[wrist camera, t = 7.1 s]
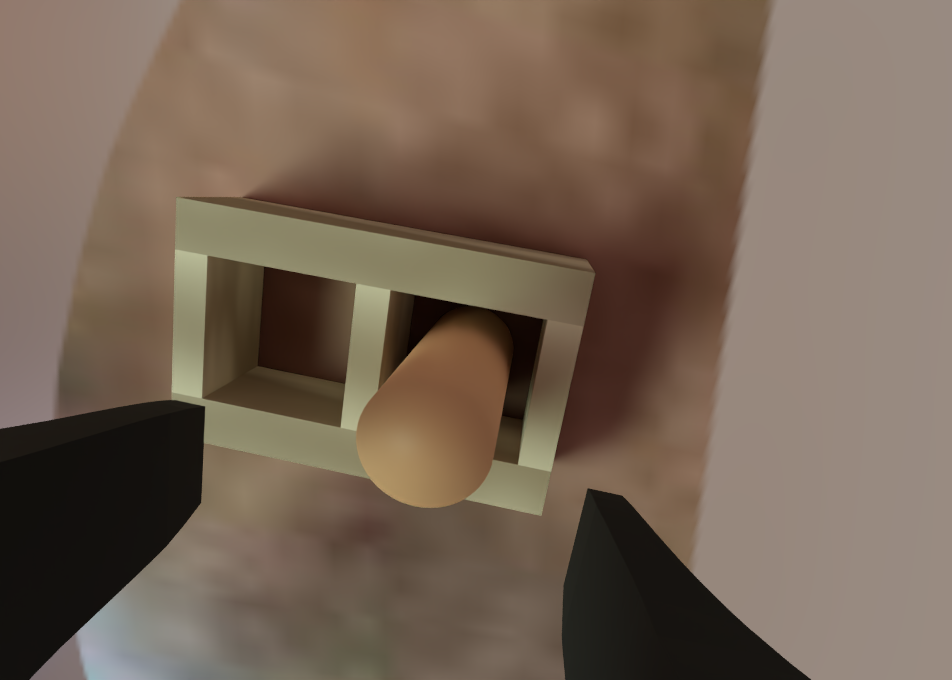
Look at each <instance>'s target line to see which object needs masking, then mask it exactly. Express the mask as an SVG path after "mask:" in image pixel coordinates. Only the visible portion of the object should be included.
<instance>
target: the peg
mask: <svg viewBox="0 0 952 680" xmlns="http://www.w3.org/2000/svg"><path fill="white" fill-rule="evenodd" d="M513 350H514V349H513V340H512V336H511V333H510V331H509V329H508V327H507V326H506V324H505V323H504V322H503V321H502V320H501V319H500V318H499V317H498V316H497V315H496V314H494V313H493V312H491V311H489V310H487V309H484V308H481V307H476V306H464V307H459V308H456V309H453V310H451V311H449V312H447V313H446V314H444V315H443V316H442V317H441V318H440V319H439V320H438V321H437V322H436V323H435V325H434V326H433V327H432V328H431V329H430V330H429V332H428V333H427V334H426V335H425V336H424V337H423V339H422V340H421V341H420V342H419V343H418V344H417V346H416V347H415V348H414V349H413V350H412V351H411V353H410V354H409V355H408V356H407V357H406V358H405V360H404V361H403V362H402V363H401V364H400V365H399V367H398V368H397V369H396V370H395V371H394V372H393V374H392V375H391V376H390V377H389V378H388V379H387V381H386V382H385V383H384V384H383V385H382V386H381V388H380V389H379V390H378V391H377V392H376V393H375V395H374V396H373V397H372V398H371V399H370V400H369V402H368V403H367V405H366V406H365V408H364V409H363V411H362V413H361V415H360V418H359V421H358V425H357V431H356V445H357V451H358V455H359V459H360V461H361V464H362V466H363V468H364V470H365V471H366V473H367V475H368V476H369V477H370V479H371V480H372V481H373V482H374V483H375V484H376V485H377V487H379V488H380V489H381V490H382V491H383V492H384V493H386V494H387V495H389V496H390V497H392V498H394V499H396V500H398V501H400V502H403V503H405V504H408V505H412V506H416V507H423V508H438V507H444V506H449V505H452V504H455V503H457V502H460V501H462V500H463V499H465V498H467V497H468V496H470V495H471V494H472V493H474V492H475V491H476V490H477V489H478V488H479V487H480V486H481V484H482V483H483V482H484V480H485V479H486V477H487V475H488V473H489V471H490V468H491V466H492V462H493V457H494V452H495V447H496V442H497V437H498V431H499V426H500V421H501V416H502V410H503V405H504V400H505V395H506V389H507V384H508V379H509V374H510V368H511V363H512V358H513Z"/></svg>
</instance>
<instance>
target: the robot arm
mask: <svg viewBox="0 0 952 680" xmlns="http://www.w3.org/2000/svg"><path fill="white" fill-rule="evenodd" d="M204 427H205V406H201V405H196V404H192V403H187V402H182V401H178V400H166V401H155V402H147V403H141V404H134V405H129V406H123V407H117V408H112V409H107V410H101V411H96V412H91V413H86V414H81V415H75V416H70V417H65V418H60V419H55V420H49V421H44V422H38V423H32V424H27V425H21V426H15V427H9V428H3V429H0V680H29V679H30V678H31V677H32V676H33V675H34V674H35V673H36V672H37V671H38V670H39V669H40V668H41V667H42V666H43V665H44V664H45V663H46V662H47V661H48V660H49V659H50V658H51V657H52V656H53V654H54V653H56V651H57V650H58V649H59V648H60V647H61V646H62V645H64V644H65V643H66V642H67V641H68V640H69V639H70V638H71V637H72V636H73V635H74V634H75V633H76V632H77V631H78V630H79V629H81V628H82V627H83V626H84V625H85V624H86V623H87V622H88V621H89V620H90V619H91V618H92V617H93V616H94V615H95V614H96V613H97V612H98V611H100V610H101V609H102V608H103V607H104V606H105V605H106V604H107V603H108V602H109V601H110V600H111V599H112V598H113V597H114V596H115V595H116V594H117V593H119V592H120V591H121V590H122V589H123V588H124V587H125V586H126V585H127V584H128V583H129V582H130V581H131V580H132V579H133V578H134V577H135V576H136V575H137V574H138V573H140V572H141V571H142V570H143V569H144V568H145V567H146V566H147V565H148V564H149V563H150V562H151V561H152V560H153V559H154V558H155V557H156V556H157V555H158V554H159V553H160V552H161V551H162V550H163V549H164V548H165V547H166V546H167V545H168V544H169V542H170V541H171V540H172V539H173V538H174V536H175V535H176V534H177V533H178V532H179V530H180V529H181V528H182V527H183V526H184V524H185V523H186V522H187V520H188V519H189V518H190V516H191V515H192V514H193V513H194V511H195V510H196V509H197V507H198V506H199V505H200V503H201V493H202V471H203V449H204ZM562 646H563V658H564V669H565V680H811V679H810V678H808V677H807V676H806V675H805V674H803V673H802V672H801V671H799V670H798V669H797V668H796V667H794V666H793V665H792V664H790V663H789V662H788V661H787V660H786V659H784V658H783V657H782V656H781V655H780V654H779V653H777V652H776V651H775V650H774V649H773V648H771V647H770V646H769V645H768V644H767V643H766V642H764V641H763V640H762V639H761V638H760V637H759V636H757V635H756V634H755V633H754V632H753V631H751V630H750V629H749V628H748V627H747V626H746V625H745V624H743V623H742V622H741V621H740V620H739V619H738V618H737V617H736V616H735V615H734V614H733V613H731V612H730V611H729V610H728V609H727V608H726V607H725V606H724V605H723V604H722V603H721V602H720V601H719V600H718V599H717V598H716V597H715V596H714V595H713V594H712V593H711V592H710V591H709V590H708V589H707V588H706V587H705V586H704V585H703V584H702V583H701V582H700V581H699V580H698V579H697V578H696V577H695V576H694V575H693V574H692V573H691V572H690V571H689V569H688V568H687V567H686V566H685V565H684V564H683V563H682V562H681V561H680V560H679V559H678V558H677V556H676V555H675V554H674V553H673V552H672V551H671V550H670V549H669V548H668V547H667V545H666V544H665V543H664V542H663V541H662V540H661V539H660V537H659V536H658V535H657V534H656V533H655V532H654V531H653V529H652V528H651V527H650V526H649V525H648V524H647V522H646V521H645V520H644V519H643V518H642V517H641V515H640V514H639V513H638V512H637V511H636V510H635V509H634V507H633V506H632V505H631V504H630V503H629V502H628V501H627V500H626V499H625V498H624V497H623V496H621V495H616V494H612V493H607V492H602V491H598V490H593V489H588V490H587V494H586V498H585V502H584V506H583V510H582V514H581V518H580V522H579V526H578V530H577V534H576V538H575V542H574V546H573V550H572V554H571V558H570V562H569V566H568V570H567V574H566V578H565V582H564V590H563V617H562Z"/></svg>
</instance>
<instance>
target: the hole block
mask: <svg viewBox="0 0 952 680" xmlns="http://www.w3.org/2000/svg"><path fill="white" fill-rule="evenodd" d="M264 266H266V267H271V268H276V269H282V270H287V271H292V272H297V273H303V274H308V275H313V276H319V277H324V278H329V279H334V280H340V281H345V282H350V283H356V293H355V302H354V311H353V320H352V329H351V338H350V347H349V356H348V365H347V374H346V383H345V384H343V383H338V382H333V381H328V380H323V379H318V378H314V377H309V376H304V375H299V374H294V373H289V372H284V371H279V370H274V369H269V368H264V367H259V366H258V354H259V339H260V324H261V308H262V293H263V278H264ZM594 278H595V272H594V270H593V268H592V267H591V265H590V264H589V262H588V261H587V259H582V258H576V257H571V256H565V255H559V254H554V253H548V252H543V251H537V250H532V249H526V248H520V247H515V246H509V245H504V244H498V243H493V242H487V241H482V240H476V239H470V238H465V237H459V236H454V235H448V234H443V233H437V232H431V231H426V230H420V229H415V228H409V227H404V226H398V225H393V224H387V223H381V222H376V221H370V220H365V219H359V218H354V217H348V216H342V215H337V214H331V213H326V212H320V211H315V210H309V209H304V208H298V207H292V206H287V205H281V204H276V203H270V202H265V201H259V200H254V199H248V198H242V197H176V235H175V278H174V320H173V363H172V400H178V401H182V402H187V403H192V404H196V405H201V406H205V427H204V443H207V444H212V445H216V446H221V447H225V448H230V449H235V450H239V451H244V452H249V453H253V454H258V455H262V456H267V457H272V458H276V459H281V460H286V461H290V462H295V463H299V464H304V465H309V466H313V467H318V468H323V469H327V470H332V471H336V472H341V473H346V474H350V475H355V476H360V477H364V478H369V479H370V477H369V476H368V475H367V473H366V471H365V470H364V468H363V466H362V464H361V461H360V459H359V455H358V451H357V445H356V431H357V425H358V421H359V418H360V415H361V413H362V411H363V409H364V408H365V406H366V405H367V403H368V402H369V400H370V399H371V398H372V397H373V396H374V395H375V393H376V392H377V391H378V390H379V389H380V388H381V386H382V385H383V384H384V383H385V382H386V381H387V379H388V378H389V377H390V376H391V375H392V374H393V372H394V371H395V370H396V369H397V368H398V367H399V365H400V364H401V363H402V362H403V361H404V360H405V358H406V356H407V349H408V342H409V335H410V327H411V320H412V313H413V306H414V299H415V295H419V296H424V297H430V298H435V299H440V300H445V301H451V302H456V303H461V304H467V305H472V306H477V307H482V308H488V309H493V310H498V311H504V312H509V313H514V314H520V315H525V316H530V317H535V318H541V319H543V323H542V328H541V333H540V338H539V343H538V348H537V353H536V358H535V363H534V367H533V372H532V377H531V382H530V387H529V392H528V397H527V402H526V407H525V412H524V417H523V420H520V419H515V418H510V417H505V416H501V421H500V426H499V431H498V437H497V442H496V447H495V452H494V457H493V462H492V466H491V468H490V471H489V473H488V475H487V477H486V479H485V480H484V482H483V483H482V484H481V486H480V487H479V488H478V489H477V490H476V491H475V492H474V493H472V494H471V495H470V496H468V497H467V498H465V499H466V500H471V501H475V502H480V503H484V504H489V505H494V506H498V507H503V508H508V509H512V510H517V511H521V512H526V513H531V514H535V515H540V516H541V515H542V510H543V506H544V501H545V497H546V492H547V488H548V483H549V479H550V474H551V470H552V465H553V461H554V456H555V452H556V448H557V443H558V439H559V434H560V430H561V425H562V421H563V416H564V412H565V407H566V403H567V398H568V394H569V389H570V385H571V380H572V376H573V372H574V367H575V363H576V358H577V354H578V349H579V345H580V340H581V336H582V331H583V327H584V322H585V318H586V313H587V309H588V304H589V300H590V295H591V291H592V287H593V282H594Z"/></svg>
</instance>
